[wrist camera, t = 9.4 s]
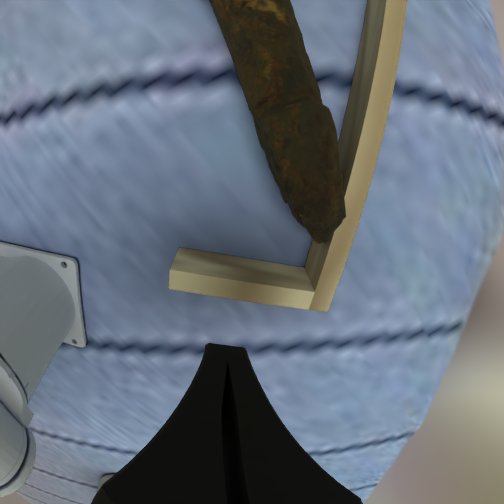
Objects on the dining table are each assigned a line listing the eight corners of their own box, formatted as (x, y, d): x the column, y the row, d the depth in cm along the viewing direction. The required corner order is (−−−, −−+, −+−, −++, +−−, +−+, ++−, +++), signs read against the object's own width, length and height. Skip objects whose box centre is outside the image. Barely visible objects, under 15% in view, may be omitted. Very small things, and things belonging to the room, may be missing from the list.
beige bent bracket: (177, 264, 19) (168, 288, 16) (255, -84, 10) (258, -109, 7) (316, 286, 20) (327, 311, 18) (390, -44, 11) (410, -61, 8)
